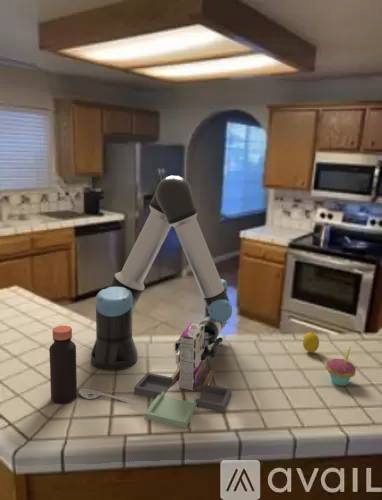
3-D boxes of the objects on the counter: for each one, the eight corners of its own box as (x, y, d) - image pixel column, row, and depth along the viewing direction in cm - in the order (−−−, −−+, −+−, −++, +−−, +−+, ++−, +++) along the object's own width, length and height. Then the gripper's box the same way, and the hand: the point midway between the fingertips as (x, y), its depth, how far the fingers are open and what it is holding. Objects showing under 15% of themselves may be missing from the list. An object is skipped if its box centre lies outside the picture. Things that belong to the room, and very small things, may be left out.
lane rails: (170, 383, 118) (170, 378, 118) (180, 368, 127) (180, 364, 127) (205, 390, 115) (205, 385, 115) (213, 375, 124) (213, 370, 124)
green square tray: (144, 418, 101) (144, 413, 101) (160, 396, 111) (160, 391, 111) (185, 428, 98) (185, 422, 97) (198, 404, 108) (198, 399, 108)
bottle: (62, 407, 104) (60, 336, 101) (45, 399, 108) (43, 329, 104) (82, 395, 110) (80, 328, 106) (65, 388, 114) (63, 322, 110)
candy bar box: (188, 370, 126) (190, 322, 123) (203, 373, 125) (205, 324, 122) (177, 388, 115) (179, 335, 112) (194, 391, 114) (196, 338, 111)
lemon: (299, 349, 145) (301, 328, 143) (314, 349, 145) (316, 328, 144) (305, 356, 139) (307, 335, 138) (320, 356, 140) (322, 335, 138)
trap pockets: (133, 393, 112) (134, 387, 112) (146, 378, 120) (146, 372, 120) (223, 412, 105) (224, 406, 104) (230, 395, 113) (231, 388, 113)
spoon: (82, 391, 113) (82, 386, 113) (151, 402, 109) (152, 396, 109) (75, 399, 109) (75, 393, 109) (147, 410, 105) (147, 404, 105)
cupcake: (353, 378, 125) (357, 342, 123) (354, 391, 117) (359, 353, 115) (324, 373, 128) (328, 338, 126) (324, 385, 120) (328, 348, 118)
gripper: (233, 345, 133) (216, 378, 111) (182, 337, 138) (157, 367, 117) (234, 324, 132) (218, 353, 110) (183, 317, 137) (157, 343, 115)
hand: (186, 360), depth 113 cm, fingers open, 5 cm apart
